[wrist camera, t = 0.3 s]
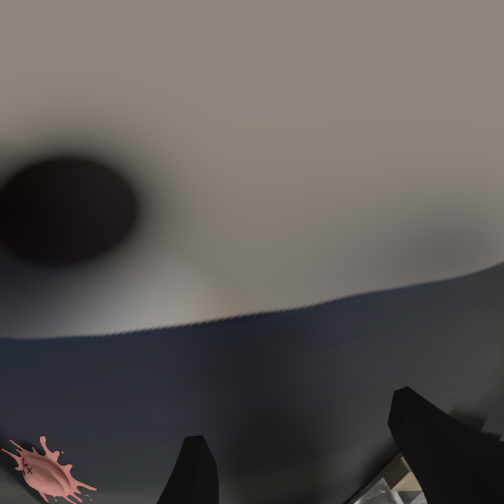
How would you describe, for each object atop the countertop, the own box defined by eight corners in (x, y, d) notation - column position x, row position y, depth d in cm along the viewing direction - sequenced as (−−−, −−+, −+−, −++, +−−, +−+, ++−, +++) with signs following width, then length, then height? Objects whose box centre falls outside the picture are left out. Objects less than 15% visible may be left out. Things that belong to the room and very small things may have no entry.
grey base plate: (437, 507, 28) (455, 534, 22) (338, 510, 25) (354, 553, 18) (499, 440, 27) (524, 464, 20) (421, 426, 24) (455, 468, 17)
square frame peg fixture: (436, 492, 26) (444, 503, 23) (364, 492, 24) (372, 508, 21) (479, 444, 25) (489, 455, 22) (418, 435, 23) (429, 450, 20)
